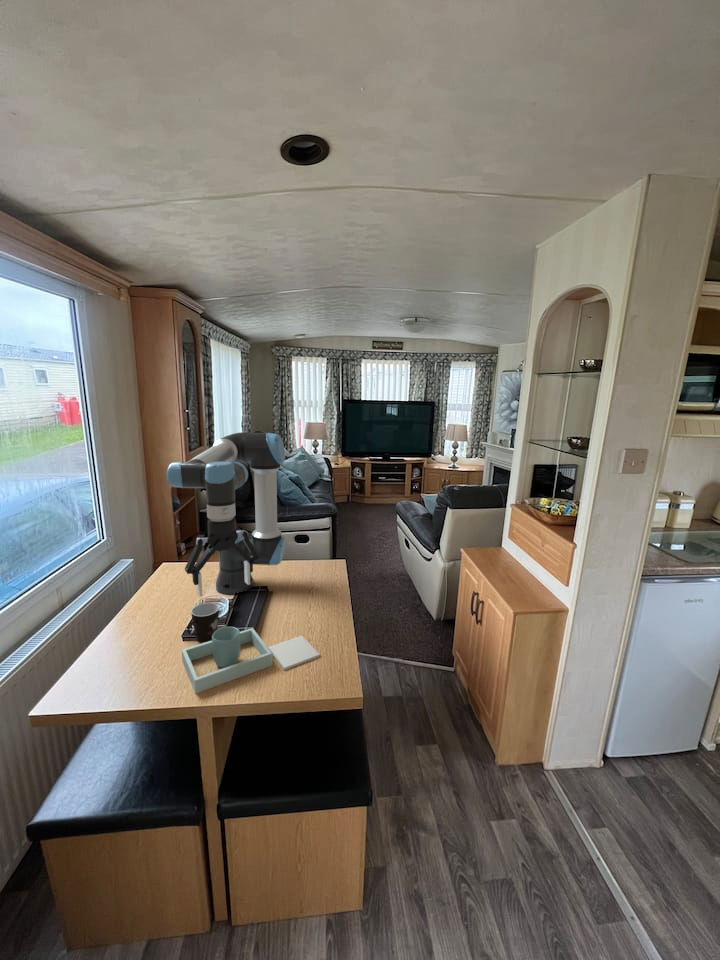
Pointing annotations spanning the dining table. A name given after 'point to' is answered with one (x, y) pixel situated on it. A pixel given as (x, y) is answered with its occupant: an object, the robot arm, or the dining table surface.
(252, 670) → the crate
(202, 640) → the coffee mug
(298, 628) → the dining table surface
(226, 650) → the cup
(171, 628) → the dining table surface
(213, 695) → the dining table surface
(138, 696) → the dining table surface
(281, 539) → the robot arm
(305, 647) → the plate
